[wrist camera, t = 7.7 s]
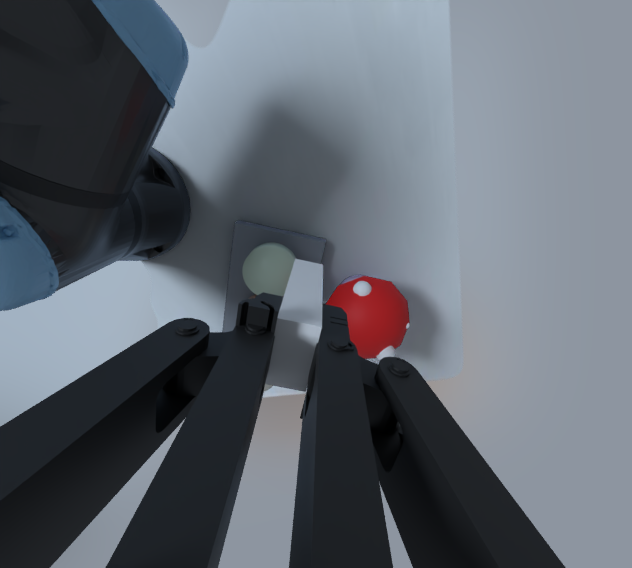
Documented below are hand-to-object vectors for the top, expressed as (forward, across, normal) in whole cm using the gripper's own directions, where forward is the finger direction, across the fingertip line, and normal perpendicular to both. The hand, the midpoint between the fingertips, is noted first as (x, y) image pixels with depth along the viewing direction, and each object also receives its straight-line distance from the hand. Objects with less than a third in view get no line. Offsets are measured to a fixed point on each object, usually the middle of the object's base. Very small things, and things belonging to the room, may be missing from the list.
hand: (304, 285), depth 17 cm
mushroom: (+27, +9, -10) cm, 30 cm away
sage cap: (+22, -4, -7) cm, 23 cm away
